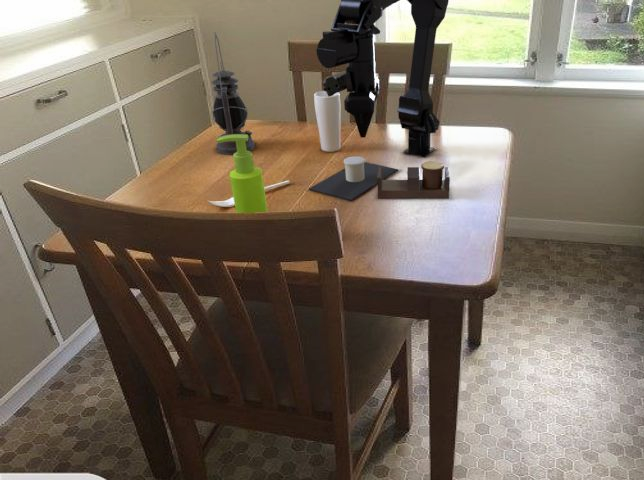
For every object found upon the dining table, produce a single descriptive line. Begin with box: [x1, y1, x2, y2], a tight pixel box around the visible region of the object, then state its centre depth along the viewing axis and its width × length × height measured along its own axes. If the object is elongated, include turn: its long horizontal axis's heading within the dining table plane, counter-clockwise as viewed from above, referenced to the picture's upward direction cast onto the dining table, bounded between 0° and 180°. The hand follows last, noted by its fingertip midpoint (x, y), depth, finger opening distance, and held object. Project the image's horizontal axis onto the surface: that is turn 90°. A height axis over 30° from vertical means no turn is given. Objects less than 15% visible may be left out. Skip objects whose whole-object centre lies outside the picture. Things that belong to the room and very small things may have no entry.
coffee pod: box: [343, 155, 366, 182], centre depth 125 cm, size 5×5×5 cm
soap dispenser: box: [216, 134, 269, 213], centre depth 100 cm, size 6×7×20 cm
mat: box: [308, 161, 399, 202], centre depth 127 cm, size 20×12×1 cm, turn 147°
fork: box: [208, 180, 291, 208], centre depth 120 cm, size 3×20×2 cm, turn 131°
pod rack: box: [376, 166, 451, 200], centre depth 119 cm, size 6×16×5 cm, turn 87°
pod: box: [420, 160, 445, 189], centre depth 117 cm, size 5×5×5 cm
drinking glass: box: [313, 90, 342, 153], centre depth 141 cm, size 7×7×15 cm
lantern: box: [210, 32, 256, 156], centre depth 140 cm, size 12×11×30 cm
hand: (364, 130), depth 122 cm, fingers open, 9 cm apart
